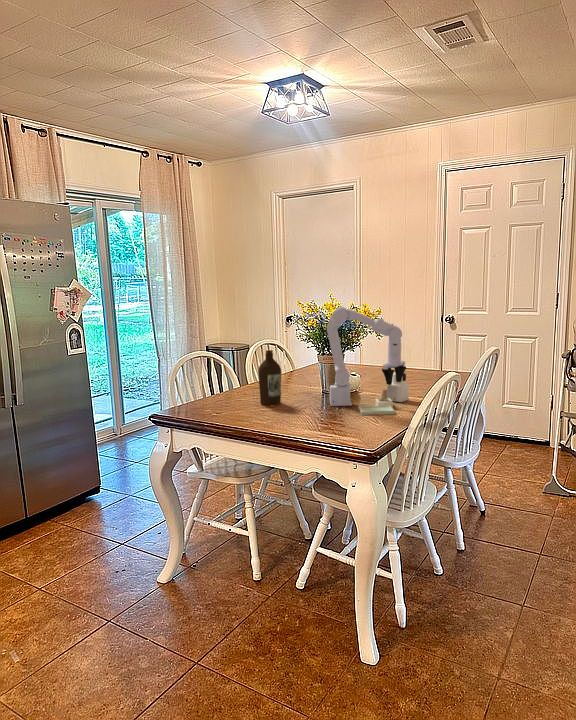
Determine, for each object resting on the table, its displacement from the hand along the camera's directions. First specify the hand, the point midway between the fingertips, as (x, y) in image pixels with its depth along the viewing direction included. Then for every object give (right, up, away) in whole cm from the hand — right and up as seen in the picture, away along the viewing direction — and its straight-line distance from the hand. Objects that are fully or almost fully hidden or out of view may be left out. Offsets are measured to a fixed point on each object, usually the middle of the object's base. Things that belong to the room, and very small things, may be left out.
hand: (393, 383), depth 242 cm
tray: (-10, -12, -11) cm, 19 cm away
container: (+3, -8, +9) cm, 13 cm away
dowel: (-5, -10, -2) cm, 11 cm away
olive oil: (-56, -10, +8) cm, 57 cm away
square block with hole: (-5, -10, -2) cm, 11 cm away
